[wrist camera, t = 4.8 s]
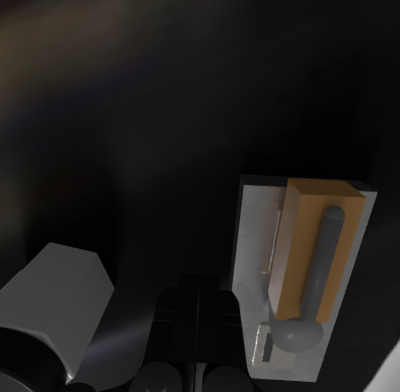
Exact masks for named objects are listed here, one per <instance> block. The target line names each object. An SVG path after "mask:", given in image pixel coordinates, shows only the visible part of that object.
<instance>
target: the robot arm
mask: <svg viewBox="0 0 400 392" xmlns="http://www.w3.org/2000/svg"><path fill="white" fill-rule="evenodd" d="M198 286H199V275H189V274H181V275H180V282H179V288H174V287H166V288H165V289H164V290H163V292H162V293H161V294H160V295H159V297H158V300H157V305H156V310H155V313H154V317H153V322H152V326H151V330H150V335H149V339H148V343H147V347H146V352H145V356H144V360H143V363H142V366H141V368H140V369H139V371H138V372H137V373H136V375H135V376H134V377H133V378H132V379H130V380H129V381H128V382H126V383H124V384H122V385H120V386H117V387H114V388H111V389H107V390H104V391H100V392H193V377H194V359H195V341H196V323H197V305H198ZM56 392H96V391H95V389H94V388H93V387H91V386H90V385H88V384H85V383H73V384H69V385H66V386H64V387H62V388H60V389H59V390H58V391H56ZM195 392H263V391H262V390H261V389H260V388H259V387H258V386H257V385H256V384H255V383H254V381H253V380H252V378H251V376H250V374H249V371H248V367H247V360H246V353H245V345H244V337H243V329H242V321H241V313H240V305H239V301H238V299H237V297H236V296H235V294H234V293H233V291H227V290H220V284H219V276H208V275H201V279H200V297H199V315H198V335H197V356H196V376H195Z"/></svg>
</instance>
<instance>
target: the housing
mask: <svg viewBox="0 0 400 392" xmlns="http://www.w3.org/2000/svg"><path fill="white" fill-rule="evenodd" d="M288 178H301V179H320V180H339V181H346V182H347V183H348V184H350V185H351V186H352V187H353V188H355V189H356V190H357V191H359V192H360V193H361V194H362V195H364V196H365V197H366V198H367V199H366V202H365V205H364V208H363V211H362V215H361V218H360V221H359V224H358V227H357V231H356V234H355V237H354V240H353V243H352V247H351V250H350V253H349V256H348V259H347V263H346V266H345V269H344V272H343V275H342V279H341V282H340V285H339V288H338V291H337V295H336V298H335V301H334V304H333V307H332V311H331V314H330V317H329V320H328V323H321V325H322V327H323V330H324V336H323V339H322V341H321V342H320V343H319V344H318V345H317V346H316V347H315V348H313V349H311V350H309V351H306V352H301V353H290V352H286V351H283V350H281V349H279V348H278V347H277V346H276V345H275V344H274V342H273V340H272V335H271V331H270V327H269V323H268V319H267V314H266V310H265V305H266V302H267V300H268V298H269V295H268V288H269V282H270V277H271V271H272V266H273V261H274V255H275V250H276V244H277V239H278V233H279V228H280V222H281V217H282V211H283V206H284V200H285V195H286V189H287V184H288ZM376 195H377V191H375V190H374V189H372V188H371V187H369V186H368V185H366V184H365V183H364V182H362V181H359V180H340V179H321V178H302V177H283V176H263V175H244V174H241V176H240V185H239V194H238V203H237V213H236V222H235V231H234V240H233V250H232V259H231V268H230V277H229V287H228V291H233V293H234V294H235V296H236V297H237V299H238V301H239V305H240V313H241V321H242V329H243V337H244V345H245V353H246V360H247V367H248V371H249V374H250V376H251V378H261V379H277V380H293V381H309V382H316V379H317V376H318V373H319V370H320V367H321V364H322V361H323V358H324V355H325V352H326V348H327V345H328V342H329V339H330V336H331V333H332V330H333V327H334V324H335V321H336V318H337V315H338V312H339V309H340V306H341V303H342V299H343V296H344V293H345V290H346V287H347V284H348V281H349V278H350V275H351V272H352V269H353V266H354V263H355V260H356V257H357V254H358V250H359V247H360V244H361V241H362V238H363V235H364V232H365V229H366V226H367V223H368V220H369V217H370V214H371V211H372V208H373V204H374V201H375V198H376Z"/></svg>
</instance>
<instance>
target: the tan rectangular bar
mask: <svg viewBox="0 0 400 392" xmlns="http://www.w3.org/2000/svg"><path fill="white" fill-rule="evenodd" d="M366 199H367V198H366V197H365V196H364V195H362V194H361V193H360V192H359V191H357V190H356V189H355V188H353V187H352V186H351V185H350V184H348V183H347V182H346V181H339V180H320V179H301V178H288V184H287V189H286V195H285V200H284V206H283V211H282V217H281V222H280V228H279V233H278V239H277V244H276V250H275V255H274V261H273V266H272V271H271V277H270V282H269V288H268V295H269V298H268V300H267V302H266V305H265V310H266V314H267V319H268V323H269V327H270V331H271V335H272V340H273V342H274V344H275V345H276V346H277V347H278V348H279V349H281V350H283V351H286V352H290V353H301V352H306V351H309V350H311V349H313V348H315V347H316V346H317V345H318V344H319V343H320V342H321V341H322V339H323V336H324V330H323V327H322V325H321V323H328V320H329V317H330V314H331V311H332V307H333V304H334V301H335V298H336V295H337V291H338V288H339V285H340V282H341V279H342V275H343V272H344V269H345V266H346V263H347V259H348V256H349V253H350V250H351V247H352V243H353V240H354V237H355V234H356V231H357V227H358V224H359V221H360V218H361V215H362V211H363V208H364V205H365V202H366Z"/></svg>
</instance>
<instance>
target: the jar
mask: <svg viewBox="0 0 400 392" xmlns="http://www.w3.org/2000/svg"><path fill="white" fill-rule="evenodd" d="M113 291H114V286H113V284H112V282H111V280H110V278H109V276H108V274H107V272H106V270H105V268H104V266H103V264H102V262H101V260H100V258H99V256H98V254H97V253H95V252H91V251H87V250H82V249H78V248H74V247H69V246H65V245H61V244H56V243H52V242H50V243H48V244H47V245H46V246H45V247H44V248H43V249H42V250H41V251H40V252H39V253H38V255H37V256H36V257H35V258H34V259H33V260H32V261H31V262H30V263H29V264H28V265H27V266H26V267H25V268H24V269H23V270H20V271H19V272H18V273H17V275H15V276H14V277H13V278H12V280H11V281H10V282H8V284H6V285H5V286H4V287H3V288H2V289H1V290H0V392H56V391H58V390H59V389H60V388H62V387H64V386H65V385H66V384H67V383H68V382H69V381H71V380H72V379H73V378H74V377H75V375H76V373H77V371H78V368H79V366H80V364H81V362H82V360H83V357H84V355H85V353H86V351H87V348H88V346H89V344H90V342H91V340H92V337H93V335H94V333H95V331H96V328H97V326H98V324H99V322H100V320H101V317H102V315H103V313H104V311H105V308H106V306H107V304H108V302H109V300H110V297H111V295H112V293H113Z"/></svg>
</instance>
